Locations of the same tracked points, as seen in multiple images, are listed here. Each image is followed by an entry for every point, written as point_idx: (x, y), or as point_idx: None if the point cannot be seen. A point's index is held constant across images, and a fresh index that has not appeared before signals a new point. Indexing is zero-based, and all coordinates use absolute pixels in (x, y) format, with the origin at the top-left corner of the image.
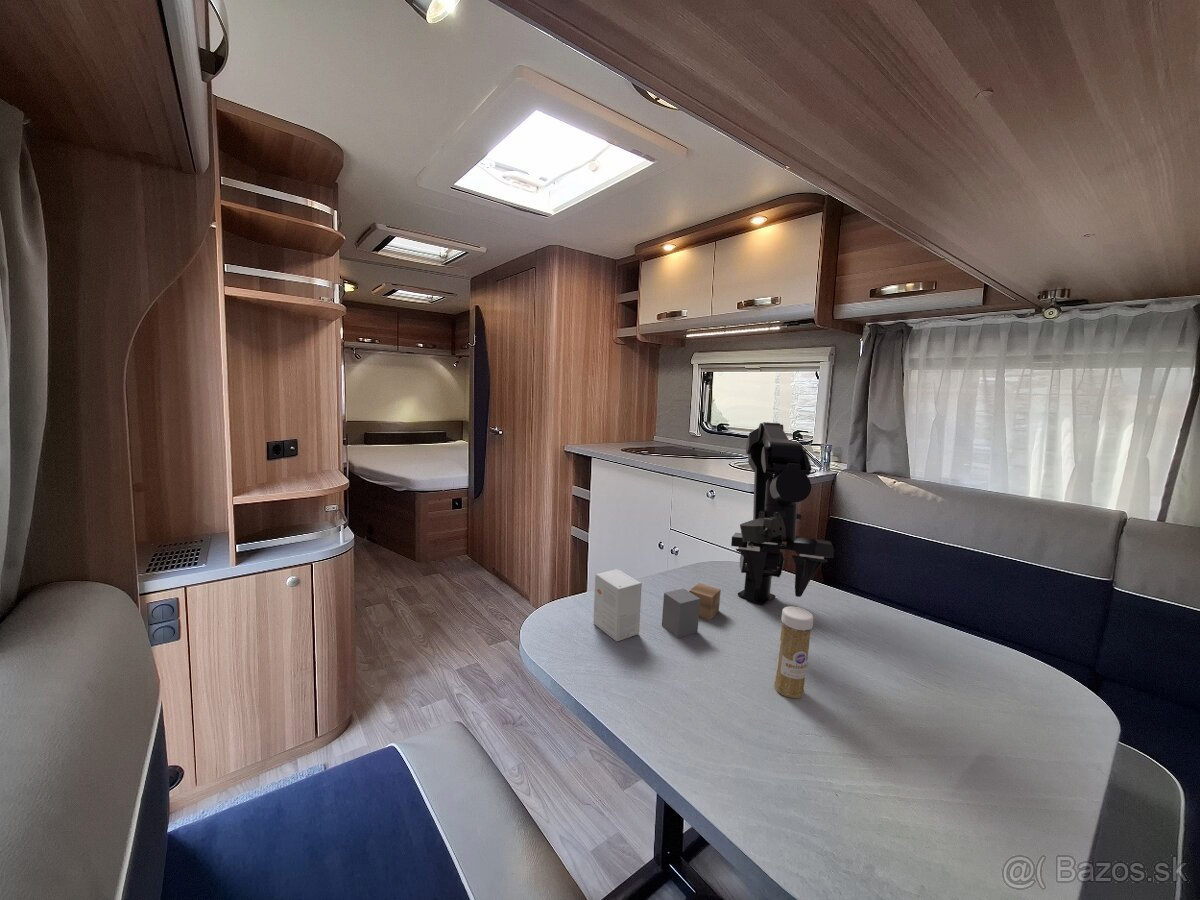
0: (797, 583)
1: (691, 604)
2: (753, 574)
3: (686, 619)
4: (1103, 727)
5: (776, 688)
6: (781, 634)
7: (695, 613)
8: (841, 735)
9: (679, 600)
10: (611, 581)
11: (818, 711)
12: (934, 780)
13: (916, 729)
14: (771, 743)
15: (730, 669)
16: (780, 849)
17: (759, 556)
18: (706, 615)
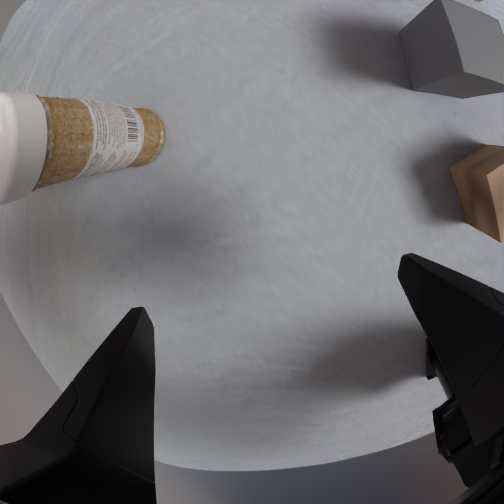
0: (103, 351)
1: (448, 40)
2: (451, 282)
3: (423, 39)
4: None
5: (142, 108)
6: (63, 98)
7: (436, 66)
8: None
9: (457, 9)
10: None
11: None
12: (10, 208)
13: (54, 268)
14: (73, 44)
15: (241, 56)
16: (20, 18)
17: (495, 399)
18: (459, 163)
